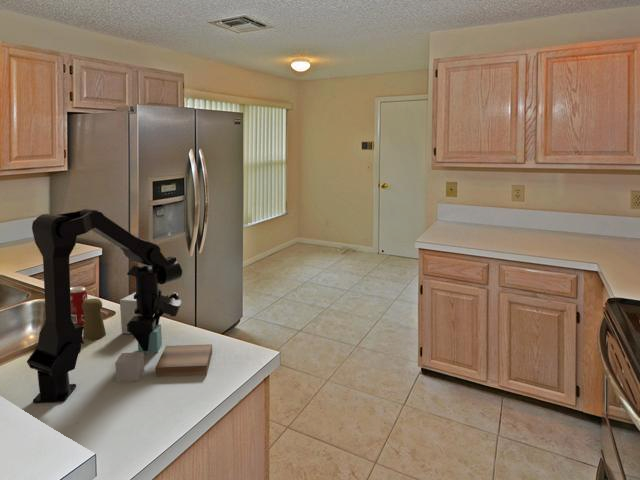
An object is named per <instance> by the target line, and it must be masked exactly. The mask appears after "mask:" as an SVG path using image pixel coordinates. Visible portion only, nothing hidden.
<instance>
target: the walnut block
mask: <svg viewBox="0 0 640 480" xmlns="http://www.w3.org/2000/svg"><path fill="white" fill-rule="evenodd" d="M212 355H213V344H210V343H209V344H207V343H205V344H184V345H183V344H182V345H180V344H177V345H165V347H164V349H163V351H162V353H161V355H160V357H159V359H158V361H157V363H156V365H155V368H154V371H155V372H154V373H155V378H166V377H167V378H168V377H172V378H173V377H192V376H193V377H195V376H207V375H208V371H209V367H210V364H211V363H210V362H211V359H212Z"/></svg>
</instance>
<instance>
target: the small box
mask: <svg viewBox="0 0 640 480" xmlns="http://www.w3.org/2000/svg"><path fill="white" fill-rule="evenodd" d="M135 293H136V291H135V292H132V294H129V295H127V296H125V297H123V298H121V299H119V310H120V311H119V312H120V326H121V333H122V334H128V335H132V333H130V332H127V324H128V322H129V321H130V320H131V319H132V318H133V317H134V316H143V315H140V314H135V309H136V308H137V305H136V299H134V295H135Z"/></svg>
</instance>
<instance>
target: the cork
mask: <svg viewBox="0 0 640 480" xmlns="http://www.w3.org/2000/svg"><path fill="white" fill-rule="evenodd" d="M82 309H83V311H84V312H85V314H84V328H83V334H82V339H83V340H87V341H92V340H93V341H96V340H99V339H102V338H104V337H106V335H107V332H106V331H107V330H106V328H105V324H104V319H103V315H102V309H103V302H102V300H101V299H99V298H88V300H85V301H84V302H83V303H82Z"/></svg>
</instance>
